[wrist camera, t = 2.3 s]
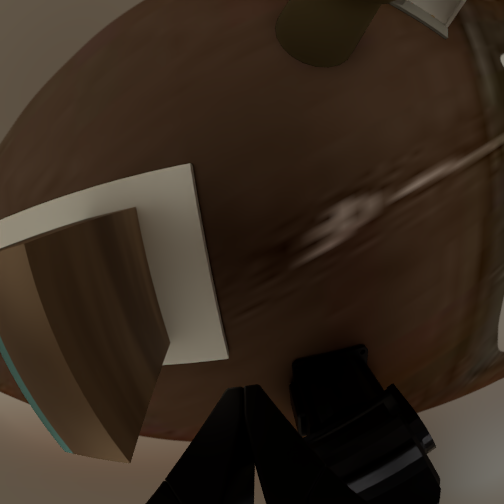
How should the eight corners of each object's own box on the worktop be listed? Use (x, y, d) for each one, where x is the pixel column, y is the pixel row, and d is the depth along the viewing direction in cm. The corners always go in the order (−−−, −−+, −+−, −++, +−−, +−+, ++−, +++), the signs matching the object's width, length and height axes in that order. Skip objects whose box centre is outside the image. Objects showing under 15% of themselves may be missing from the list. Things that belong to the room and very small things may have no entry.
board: (192, 164, 18) (190, 163, 17) (228, 351, 21) (228, 358, 20) (-17, 228, 17) (-23, 230, 16) (27, 358, 21) (22, 363, 20)
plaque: (135, 206, 17) (24, 243, 6) (170, 342, 20) (130, 463, 9) (86, 218, 17) (-33, 261, 6) (123, 346, 19) (64, 451, 9)
